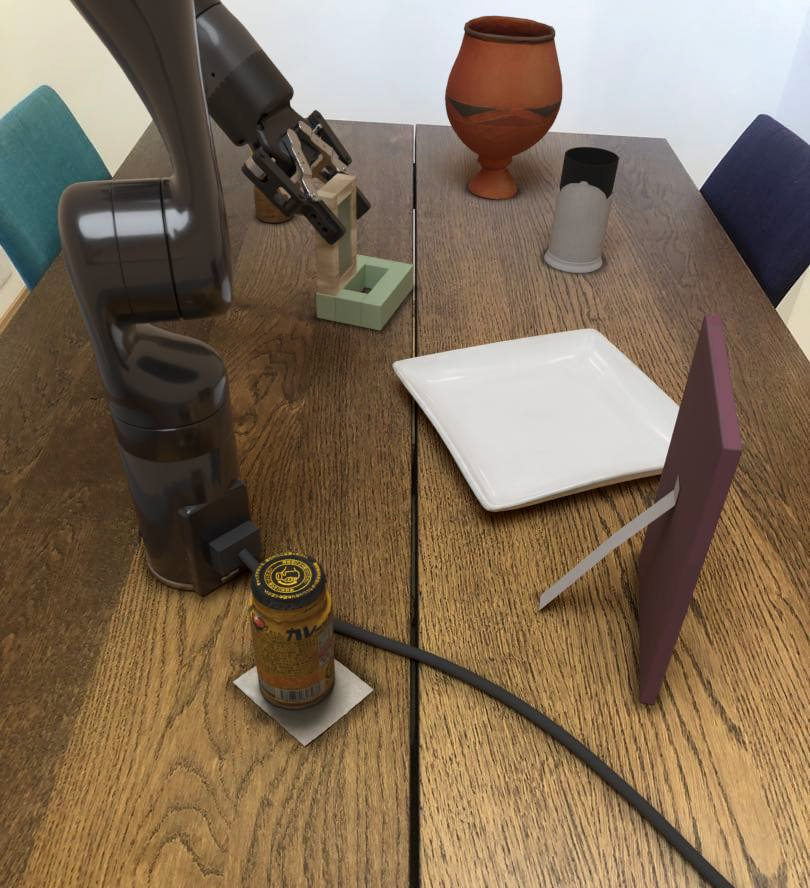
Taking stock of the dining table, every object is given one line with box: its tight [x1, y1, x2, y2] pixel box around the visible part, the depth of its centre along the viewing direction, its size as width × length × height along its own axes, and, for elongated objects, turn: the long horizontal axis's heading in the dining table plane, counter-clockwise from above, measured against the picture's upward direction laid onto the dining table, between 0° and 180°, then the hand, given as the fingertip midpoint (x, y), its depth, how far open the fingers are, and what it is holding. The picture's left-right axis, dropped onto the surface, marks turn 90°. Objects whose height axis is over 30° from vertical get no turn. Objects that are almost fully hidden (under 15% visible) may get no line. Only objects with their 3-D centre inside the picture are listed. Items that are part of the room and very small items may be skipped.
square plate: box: [391, 327, 680, 513], centre depth 90 cm, size 27×27×4 cm
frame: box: [314, 173, 358, 296], centre depth 82 cm, size 2×6×10 cm, turn 161°
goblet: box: [444, 15, 564, 200], centre depth 134 cm, size 19×19×25 cm
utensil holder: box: [247, 144, 293, 224], centre depth 128 cm, size 6×6×12 cm
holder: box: [315, 253, 415, 331], centre depth 110 cm, size 9×13×4 cm
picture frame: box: [538, 314, 744, 706], centre depth 63 cm, size 17×10×25 cm, turn 168°
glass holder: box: [543, 146, 620, 274], centre depth 120 cm, size 9×14×15 cm, turn 161°
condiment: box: [232, 551, 374, 747], centre depth 61 cm, size 7×8×12 cm
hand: (351, 225), depth 81 cm, fingers closed on frame, 6 cm apart
